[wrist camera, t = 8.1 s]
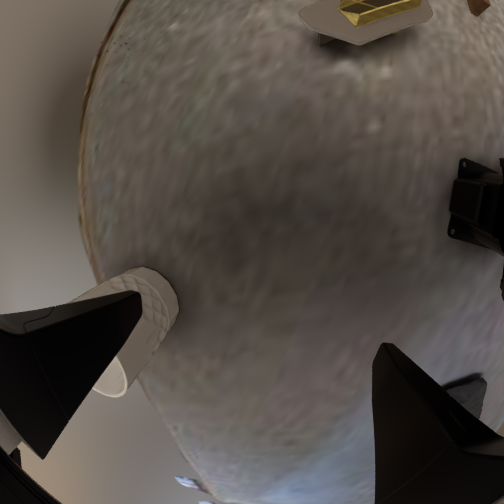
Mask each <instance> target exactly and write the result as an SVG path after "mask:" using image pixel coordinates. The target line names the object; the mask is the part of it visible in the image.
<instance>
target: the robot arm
mask: <svg viewBox="0 0 504 504" xmlns="http://www.w3.org/2000/svg"><path fill="white" fill-rule="evenodd" d="M499 160H500V167H502V174H499V173H497V172H495V171H493V170H491V169H489V168H487V167H484V166H482V165H480V164H478V163H475V162H473V161H471V160H468V159H466V158H462V159H461V160H460V162H459V170H458V178H457V179H456V180H455V181H454V187H453V193H452V199H451V204H450V213H451V217H450V222H449V226H448V231H447V233H448V235H449V237H451V238H454V239H458V240H462V241H465V242H469V243H472V244H476V245H479V246H483V247H486V248H490V249H492V250H494V251H495V252H497V253H499V254H500V255H502V256H504V158H499ZM464 161H465V162H466V167H463V162H464ZM451 229H454V230H455V232H454V234H451ZM500 288H501V290H502V298H503V301H504V267H503V276H502V279H501V284H500ZM142 313H143V308H142V297H141V294H140V293H139V292H137V291H134V290H128V291H123V292H119V293H114V294H110V295H105V296H100V297H96V298H91V299H86V300H82V301H77V302H72V303H68V304H63V305H58V306H56V307H54V306H53V307H49V308H44V309H38V310H32V311H26V312H19V313H10V314H3V315H0V504H62V503H61V502H59V501H58V500H57V499H55V498H54V497H53V496H52V495H50V494H49V493H48V492H47V491H46V490H44V489H43V488H42V487H41V486H40V485H39V484H37V482H35V481H34V480H33V479H32V478H31V477H30V476H29V475H28V474H27V473H26V472H25V471H24V470H23V469H22V467H21V456H20V450H19V449H18V448H17V446H18V445H19V444H20V443H21V441H23V442H24V443H25V444H26V445H27V446H28V447H29V448H30V449H31V450H32V451H33V452H34V453H35V454H36V455H37V456H39V457H40V458H41V459H42V460H43V459H44V458H45V457H46V455H47V454H48V452H49V451H50V449H51V448H52V446H53V445H54V443H55V441H56V440H57V438H58V437H59V435H60V434H61V432H62V431H63V429H64V428H65V426H66V425H67V423H68V422H69V420H70V419H71V417H72V416H73V414H74V413H75V412H76V410H77V409H78V407H79V406H80V404H81V403H82V401H83V400H84V398H85V397H86V396H87V394H88V393H89V392H90V390H91V389H92V388H93V386H94V385H95V383H96V382H97V381H98V379H99V378H100V377H101V375H102V374H103V372H104V371H105V370H106V368H107V367H108V366H109V364H110V363H111V362H112V360H113V359H114V358H115V356H116V355H117V354H118V352H119V351H120V350H121V348H122V347H123V346H124V344H125V343H126V341H127V339H128V338H129V336H130V334H131V333H132V331H133V329H134V328H135V326H136V325H137V323H138V321H139V320H140V318H141V316H142ZM372 409H373V422H374V439H375V504H504V437H502V436H500V435H498V434H497V433H495V432H494V431H493V430H492V429H490V428H489V427H488V426H487V425H485V424H484V423H483V422H481V421H480V420H479V419H478V418H476V417H475V416H474V415H473V414H471V413H470V412H469V411H468V410H466V409H465V408H464V407H463V406H462V405H461V404H460V403H459V402H457V401H456V400H455V399H454V398H453V397H452V396H450V394H449V393H448V392H446V391H445V390H444V389H443V388H442V387H441V386H440V385H439V384H438V383H437V382H435V381H434V380H433V379H432V378H431V377H430V376H429V375H428V374H427V373H425V372H424V371H423V370H422V369H421V368H420V367H419V366H418V365H417V364H415V363H414V362H413V361H412V360H411V359H410V358H409V357H408V356H406V355H405V354H404V353H403V352H402V351H401V350H400V349H398V348H397V347H396V346H395V345H394V344H392V343H382V344H381V345H380V347H379V349H378V351H377V354H376V356H375V358H374V360H373V364H372Z"/></svg>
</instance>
